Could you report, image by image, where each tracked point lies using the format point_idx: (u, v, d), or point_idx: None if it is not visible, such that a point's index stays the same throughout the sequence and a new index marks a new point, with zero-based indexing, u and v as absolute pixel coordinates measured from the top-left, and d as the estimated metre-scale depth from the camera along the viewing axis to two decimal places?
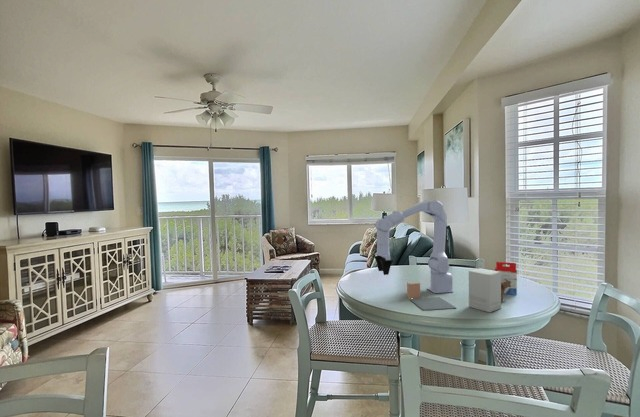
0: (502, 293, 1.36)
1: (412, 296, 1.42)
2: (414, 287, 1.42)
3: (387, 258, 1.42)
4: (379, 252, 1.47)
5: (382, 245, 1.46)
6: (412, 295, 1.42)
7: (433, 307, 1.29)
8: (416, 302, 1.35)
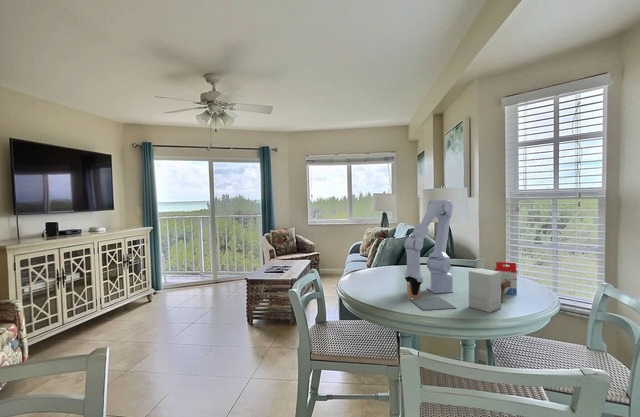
0: (502, 293, 1.36)
1: (412, 296, 1.42)
2: None
3: (419, 280, 1.36)
4: (410, 273, 1.41)
5: (413, 265, 1.40)
6: (412, 295, 1.42)
7: (433, 307, 1.29)
8: (416, 302, 1.35)
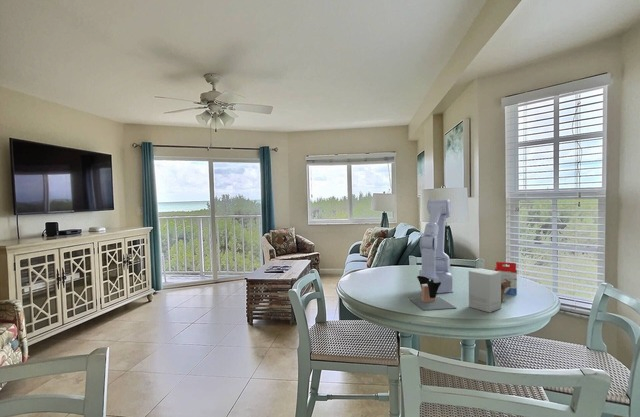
0: (502, 293, 1.36)
1: (427, 299, 1.36)
2: None
3: (435, 280, 1.30)
4: (425, 273, 1.35)
5: (428, 265, 1.34)
6: (427, 298, 1.36)
7: (433, 307, 1.29)
8: (416, 302, 1.35)
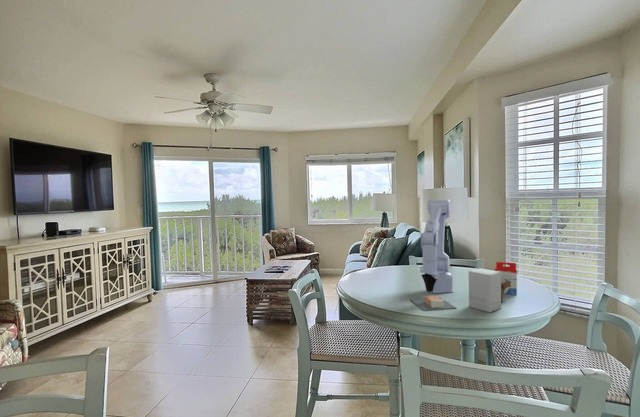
0: (502, 293, 1.36)
1: None
2: None
3: (436, 277, 1.29)
4: (426, 269, 1.34)
5: (429, 262, 1.33)
6: None
7: None
8: (416, 302, 1.35)
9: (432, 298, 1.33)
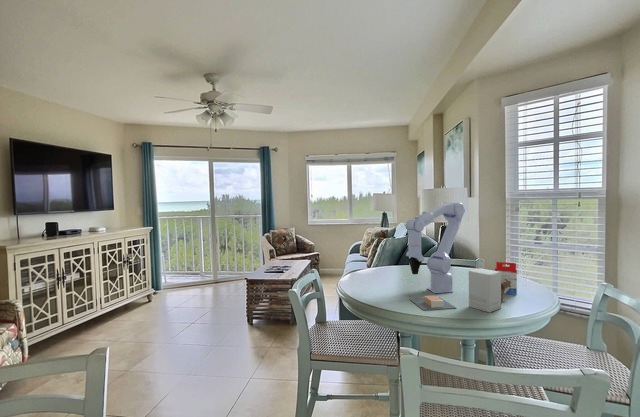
0: (502, 293, 1.36)
1: None
2: None
3: (420, 259, 1.39)
4: (411, 253, 1.44)
5: (414, 246, 1.43)
6: None
7: None
8: (416, 302, 1.35)
9: (432, 298, 1.33)
